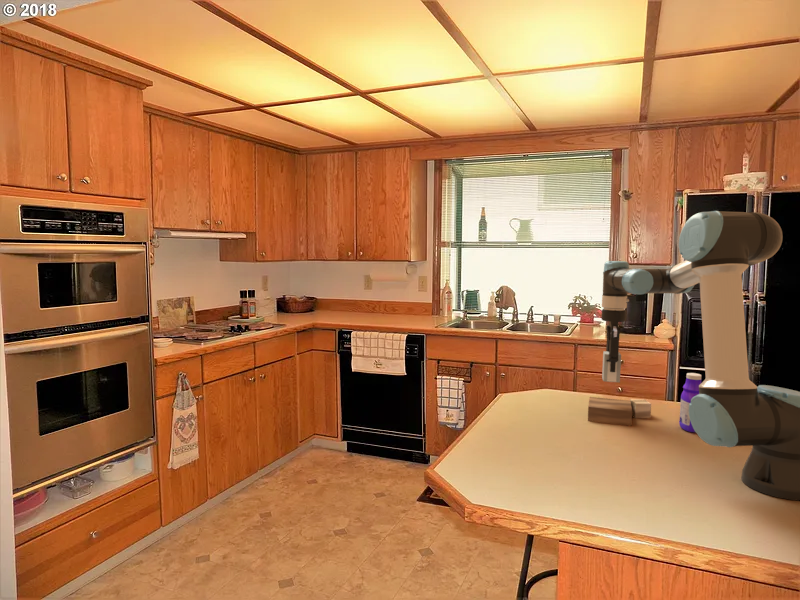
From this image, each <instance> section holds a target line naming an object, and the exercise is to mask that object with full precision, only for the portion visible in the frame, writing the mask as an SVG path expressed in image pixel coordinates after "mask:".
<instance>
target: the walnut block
mask: <svg viewBox="0 0 800 600" xmlns="http://www.w3.org/2000/svg"><path fill="white" fill-rule="evenodd" d="M587 406H588V408H587V421H588V422H594V423H595V422H596V423H604V424H612V425H613V424H614V425H622V426H630V425H631V426H632V423H633V422H632V419H633V418H632V417H633V416H632V407H631V401H630V400H626V399H618V398H617V399H615V398H607V397H606V398H604V397H594V396H590V397H589V399H588V405H587Z"/></svg>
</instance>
